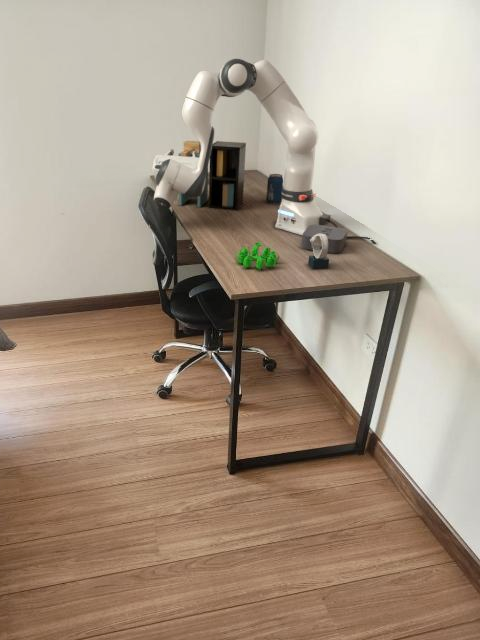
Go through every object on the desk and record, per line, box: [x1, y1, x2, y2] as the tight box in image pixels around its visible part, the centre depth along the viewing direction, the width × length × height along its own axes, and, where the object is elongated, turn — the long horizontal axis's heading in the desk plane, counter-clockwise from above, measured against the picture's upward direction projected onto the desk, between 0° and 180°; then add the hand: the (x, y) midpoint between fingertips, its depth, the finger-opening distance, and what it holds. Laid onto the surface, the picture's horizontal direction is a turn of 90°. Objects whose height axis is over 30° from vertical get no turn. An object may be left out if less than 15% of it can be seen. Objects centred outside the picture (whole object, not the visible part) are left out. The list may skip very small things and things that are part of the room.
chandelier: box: [234, 242, 280, 271], centre depth 183 cm, size 15×15×7 cm
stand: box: [177, 152, 209, 208], centre depth 242 cm, size 12×10×22 cm
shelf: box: [208, 140, 247, 211], centre depth 236 cm, size 11×13×26 cm
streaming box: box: [301, 225, 348, 254], centre depth 198 cm, size 14×14×5 cm
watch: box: [307, 233, 330, 270], centre depth 180 cm, size 6×8×11 cm
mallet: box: [180, 140, 201, 157], centre depth 229 cm, size 15×7×4 cm, turn 162°
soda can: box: [265, 173, 284, 205], centre depth 245 cm, size 7×7×12 cm
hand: (182, 151), depth 222 cm, fingers open, 8 cm apart
